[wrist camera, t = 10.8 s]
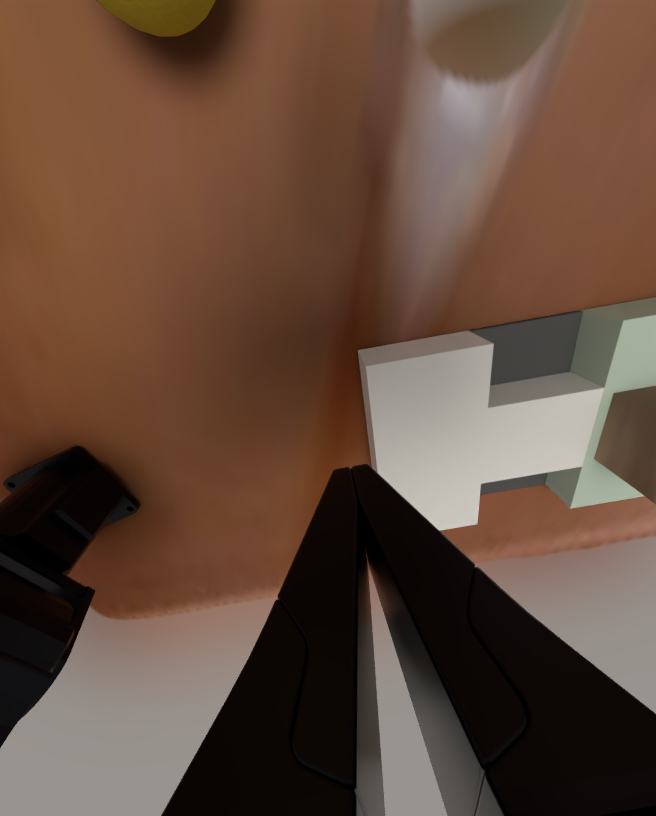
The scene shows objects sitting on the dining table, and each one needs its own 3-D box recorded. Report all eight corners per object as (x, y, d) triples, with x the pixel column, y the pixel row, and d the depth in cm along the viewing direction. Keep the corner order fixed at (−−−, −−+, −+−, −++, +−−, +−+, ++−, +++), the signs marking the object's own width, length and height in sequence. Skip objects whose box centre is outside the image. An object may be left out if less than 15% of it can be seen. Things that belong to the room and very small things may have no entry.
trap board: (376, 509, 26) (385, 539, 23) (357, 350, 19) (366, 366, 17) (627, 467, 26) (664, 492, 23) (692, 290, 19) (754, 297, 16)
